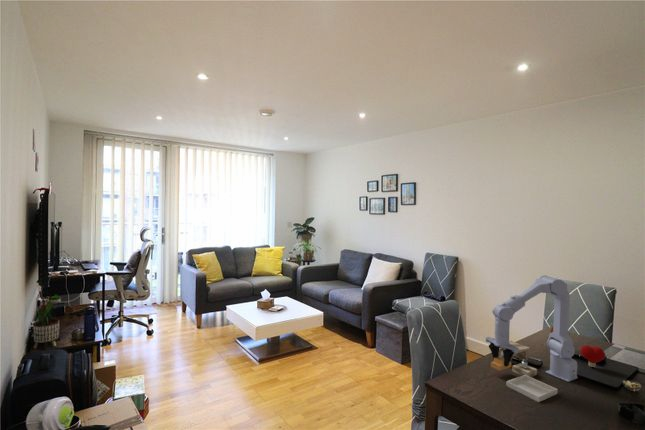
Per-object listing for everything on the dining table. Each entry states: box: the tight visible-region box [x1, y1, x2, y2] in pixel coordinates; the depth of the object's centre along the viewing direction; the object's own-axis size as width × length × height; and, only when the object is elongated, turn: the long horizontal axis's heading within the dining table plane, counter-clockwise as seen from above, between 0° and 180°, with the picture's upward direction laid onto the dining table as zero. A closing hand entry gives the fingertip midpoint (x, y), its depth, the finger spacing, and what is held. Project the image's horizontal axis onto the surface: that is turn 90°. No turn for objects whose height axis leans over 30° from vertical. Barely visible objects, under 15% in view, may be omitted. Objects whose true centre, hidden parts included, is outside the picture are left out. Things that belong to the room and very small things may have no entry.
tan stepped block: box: [490, 355, 512, 372], centre depth 151 cm, size 8×4×4 cm, turn 118°
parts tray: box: [505, 375, 559, 403], centre depth 138 cm, size 13×13×2 cm
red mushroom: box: [580, 344, 606, 368], centre depth 160 cm, size 9×7×10 cm
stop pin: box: [521, 359, 528, 370], centre depth 153 cm, size 2×2×6 cm
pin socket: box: [511, 362, 538, 378], centre depth 153 cm, size 7×7×2 cm
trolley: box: [499, 340, 530, 363], centre depth 164 cm, size 9×14×7 cm, turn 118°
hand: (501, 363), depth 151 cm, fingers closed on tan stepped block, 4 cm apart
